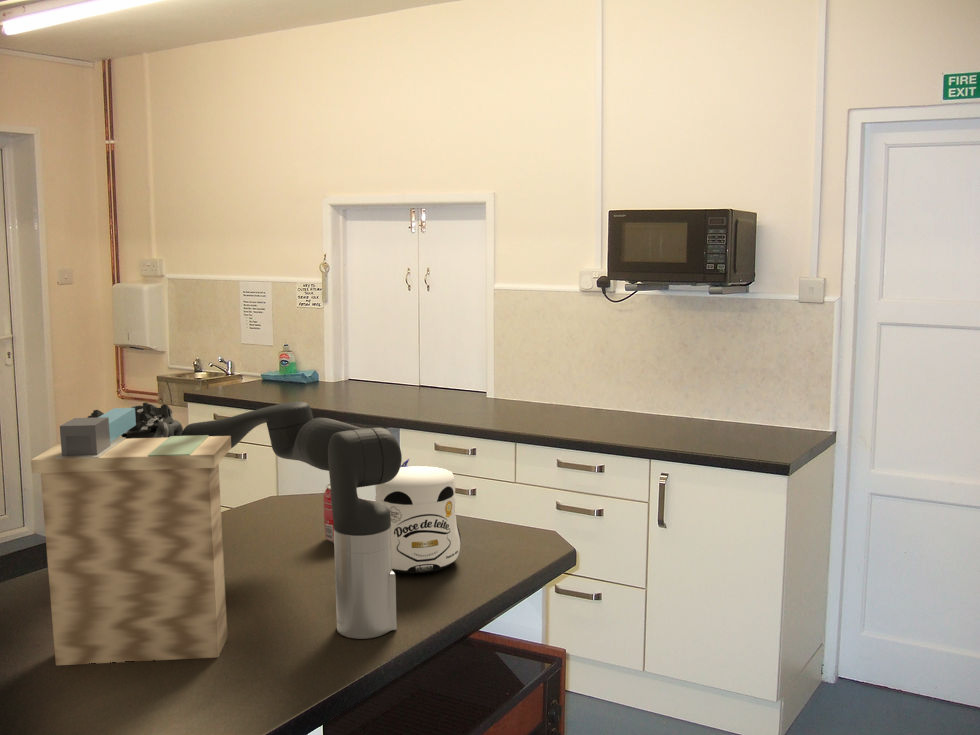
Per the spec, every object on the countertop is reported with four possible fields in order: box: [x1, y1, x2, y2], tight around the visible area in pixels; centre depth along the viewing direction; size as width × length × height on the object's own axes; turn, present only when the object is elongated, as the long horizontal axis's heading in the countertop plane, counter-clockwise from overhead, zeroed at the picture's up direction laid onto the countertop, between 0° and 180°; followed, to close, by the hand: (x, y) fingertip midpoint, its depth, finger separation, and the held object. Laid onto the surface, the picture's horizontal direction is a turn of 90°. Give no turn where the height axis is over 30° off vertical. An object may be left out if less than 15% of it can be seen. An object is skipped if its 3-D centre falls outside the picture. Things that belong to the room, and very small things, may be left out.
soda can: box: [323, 483, 334, 544], centre depth 189 cm, size 7×7×12 cm
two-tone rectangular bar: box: [59, 407, 136, 456], centre depth 141 cm, size 5×22×4 cm, turn 6°
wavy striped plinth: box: [30, 435, 232, 666], centre depth 139 cm, size 26×13×32 cm, turn 96°
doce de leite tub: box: [375, 465, 462, 574], centre depth 174 cm, size 17×17×18 cm
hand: (120, 411), depth 159 cm, fingers open, 8 cm apart
